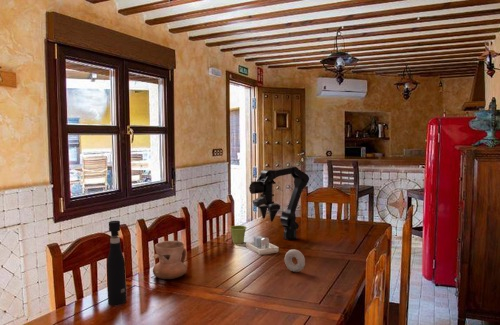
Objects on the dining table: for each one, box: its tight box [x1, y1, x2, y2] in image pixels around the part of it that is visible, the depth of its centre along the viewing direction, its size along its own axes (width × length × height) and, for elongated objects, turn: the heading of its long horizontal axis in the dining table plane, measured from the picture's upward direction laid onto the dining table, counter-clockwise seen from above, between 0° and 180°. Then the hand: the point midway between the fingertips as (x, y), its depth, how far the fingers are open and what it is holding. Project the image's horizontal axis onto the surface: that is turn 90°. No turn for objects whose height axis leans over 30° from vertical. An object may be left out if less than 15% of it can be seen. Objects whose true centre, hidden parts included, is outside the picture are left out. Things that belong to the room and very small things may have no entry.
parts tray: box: [245, 241, 280, 256], centre depth 214 cm, size 11×16×2 cm
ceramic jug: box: [152, 240, 188, 280], centre depth 176 cm, size 18×14×14 cm
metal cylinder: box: [261, 237, 270, 249], centre depth 210 cm, size 4×4×6 cm
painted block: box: [253, 235, 264, 248], centre depth 217 cm, size 4×4×5 cm
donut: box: [284, 248, 306, 273], centre depth 179 cm, size 10×4×10 cm, turn 54°
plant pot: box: [229, 225, 247, 245], centre depth 228 cm, size 9×9×9 cm
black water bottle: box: [106, 220, 127, 307], centre depth 148 cm, size 6×6×30 cm
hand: (267, 220), depth 226 cm, fingers open, 9 cm apart
